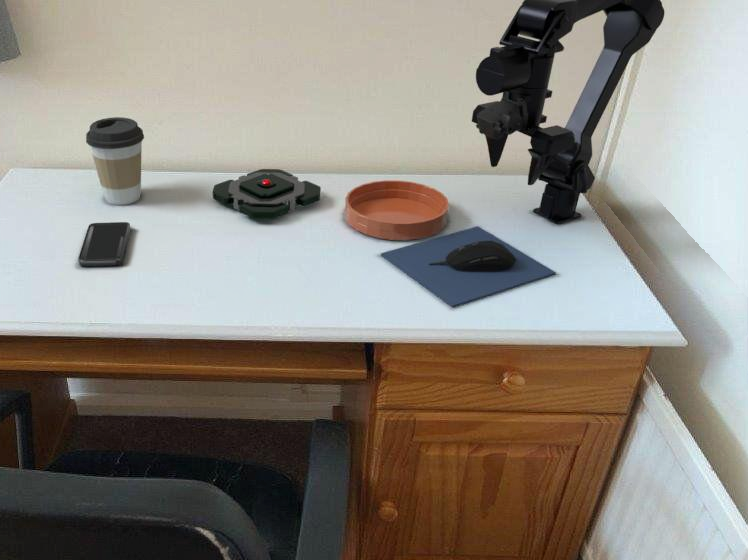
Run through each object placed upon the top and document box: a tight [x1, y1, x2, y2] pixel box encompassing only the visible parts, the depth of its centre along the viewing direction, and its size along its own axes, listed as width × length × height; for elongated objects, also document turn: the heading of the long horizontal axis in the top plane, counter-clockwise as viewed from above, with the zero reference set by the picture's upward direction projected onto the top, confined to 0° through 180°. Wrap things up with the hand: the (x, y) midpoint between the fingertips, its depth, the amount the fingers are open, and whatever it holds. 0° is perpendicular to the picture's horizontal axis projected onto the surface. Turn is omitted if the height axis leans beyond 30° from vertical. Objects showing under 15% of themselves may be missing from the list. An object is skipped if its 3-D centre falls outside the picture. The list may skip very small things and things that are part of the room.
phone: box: [77, 221, 132, 268], centre depth 141 cm, size 8×1×15 cm
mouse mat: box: [380, 226, 557, 308], centre depth 134 cm, size 22×20×1 cm
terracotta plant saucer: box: [344, 179, 450, 241], centre depth 148 cm, size 19×19×4 cm
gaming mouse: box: [429, 241, 516, 271], centre depth 132 cm, size 6×15×4 cm, turn 91°
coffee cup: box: [85, 116, 145, 206], centre depth 154 cm, size 11×11×15 cm
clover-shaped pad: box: [211, 168, 321, 220], centre depth 155 cm, size 18×18×5 cm
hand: (511, 175), depth 135 cm, fingers open, 9 cm apart
